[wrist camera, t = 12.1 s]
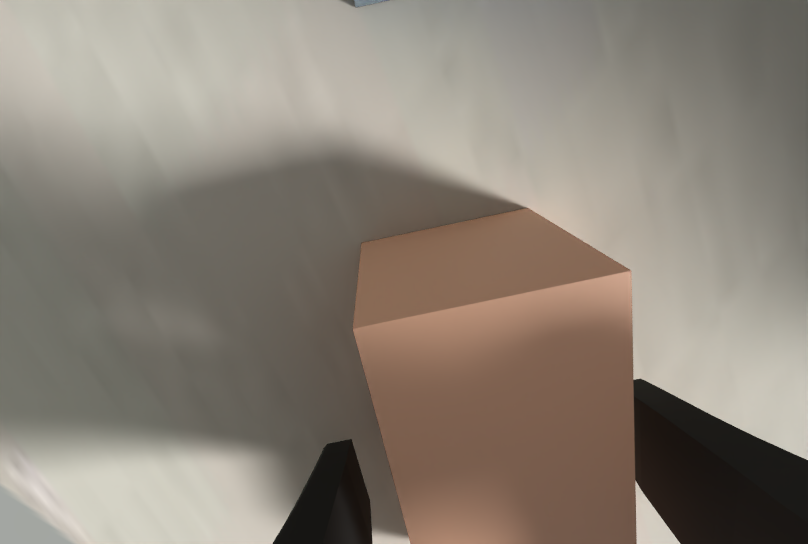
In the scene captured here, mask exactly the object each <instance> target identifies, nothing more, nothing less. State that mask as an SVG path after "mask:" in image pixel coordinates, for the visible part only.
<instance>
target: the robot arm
mask: <svg viewBox="0 0 808 544" xmlns="http://www.w3.org/2000/svg"><path fill="white" fill-rule="evenodd" d="M633 389H634V442H635V480H636V482H637V483H638V485H639V487H640V488H641V490H642V491H643V493H644V494H645V496H646V497H647V498H648V500H649V501H650V503H651V504H652V505H653V507H654V508H655V509H656V511H657V512H658V514H659V515H660V516H661V518H662V519H663V520H664V522H665V523H666V524H667V526H668V527H669V529H670V530H671V531H672V533H673V534H674V535H675V537H676V538H677V539H678V541H679V542H680V543H681V544H808V460H806V459H804V458H801V457H799V456H797V455H794V454H792V453H790V452H788V451H786V450H783V449H781V448H779V447H777V446H775V445H772V444H770V443H768V442H766V441H763V440H761V439H759V438H757V437H755V436H753V435H751V434H749V433H747V432H744V431H742V430H740V429H738V428H736V427H734V426H732V425H730V424H728V423H726V422H724V421H722V420H720V419H718V418H716V417H714V416H712V415H710V414H708V413H706V412H704V411H702V410H701V409H699V408H697V407H695V406H693V405H691V404H689V403H687V402H685V401H683V400H681V399H679V398H678V397H676V396H674V395H672V394H670V393H668V392H666V391H664V390H662V389H660V388H658V387H656V386H654V385H652V384H650V383H648V382H646V381H644V380H642V379H637V380H633ZM273 544H372V526H371V508H370V499H369V496H368V493H367V489H366V486H365V483H364V479H363V476H362V473H361V469H360V466H359V463H358V460H357V456H356V453H355V450H354V446H353V443H352V440H351V439H349V440H345V441H340V442H335V443H330V444H327V445H326V446H325V448H324V449H323V451H322V454H321V456H320V458H319V460H318V462H317V464H316V466H315V468H314V470H313V472H312V474H311V476H310V478H309V480H308V482H307V484H306V485H305V487H304V489H303V491H302V493H301V495H300V497H299V499H298V500H297V502H296V504H295V506H294V508H293V510H292V511H291V513H290V515H289V517H288V519H287V520H286V522H285V524H284V526H283V527H282V529H281V531H280V532H279V534H278V536H277V537H276V539H275V540H274V542H273Z"/></svg>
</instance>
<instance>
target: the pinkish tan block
mask: <svg viewBox="0 0 808 544" xmlns="http://www.w3.org/2000/svg"><path fill="white" fill-rule="evenodd" d="M353 332H354V336H355V339H356V343H357V347H358V350H359V354H360V358H361V362H362V365H363V369H364V373H365V376H366V380H367V384H368V387H369V391H370V395H371V399H372V402H373V406H374V410H375V413H376V417H377V421H378V425H379V428H380V432H381V436H382V439H383V443H384V447H385V451H386V454H387V458H388V462H389V465H390V469H391V473H392V477H393V480H394V484H395V488H396V491H397V495H398V499H399V503H400V506H401V510H402V514H403V517H404V521H405V525H406V529H407V532H408V536H409V540H410V543H411V544H636V494H635V442H634V389H633V337H632V284H631V270H629V269H628V268H626V267H624V266H623V265H621V264H619V263H618V262H616V261H614V260H613V259H611V258H609V257H608V256H606V255H605V254H603V253H601V252H600V251H598V250H596V249H595V248H593V247H591V246H590V245H588V244H586V243H585V242H583V241H581V240H580V239H578V238H577V237H575V236H573V235H572V234H570V233H568V232H567V231H565V230H563V229H562V228H560V227H558V226H557V225H555V224H553V223H552V222H550V221H549V220H547V219H545V218H544V217H542V216H540V215H539V214H537V213H535V212H534V211H532V210H530V209H529V208H525V209H520V210H515V211H511V212H506V213H501V214H496V215H492V216H487V217H482V218H477V219H473V220H468V221H463V222H458V223H454V224H449V225H444V226H439V227H435V228H430V229H425V230H420V231H416V232H411V233H406V234H401V235H397V236H392V237H387V238H382V239H378V240H373V241H368V242H363V243H362V244H361V253H360V263H359V273H358V282H357V292H356V302H355V311H354V321H353Z"/></svg>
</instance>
